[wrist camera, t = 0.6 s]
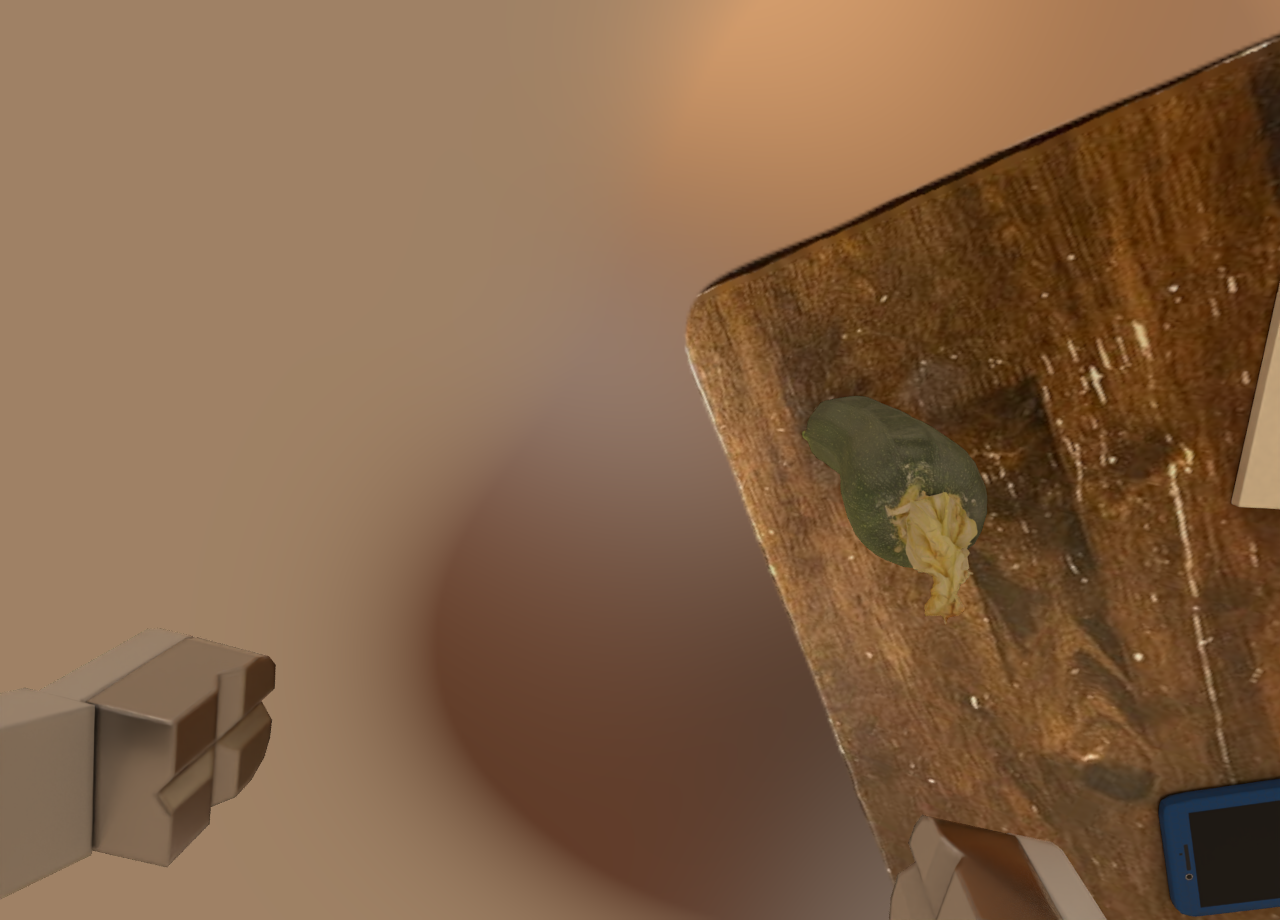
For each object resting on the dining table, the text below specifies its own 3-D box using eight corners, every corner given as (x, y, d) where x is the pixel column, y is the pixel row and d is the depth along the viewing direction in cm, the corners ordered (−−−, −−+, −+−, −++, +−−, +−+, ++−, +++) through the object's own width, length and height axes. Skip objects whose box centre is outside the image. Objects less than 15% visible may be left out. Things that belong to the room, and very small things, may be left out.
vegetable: (844, 364, 36) (997, 441, 16) (904, 423, 36) (1126, 568, 17) (779, 427, 37) (852, 570, 17) (839, 484, 37) (976, 687, 18)
